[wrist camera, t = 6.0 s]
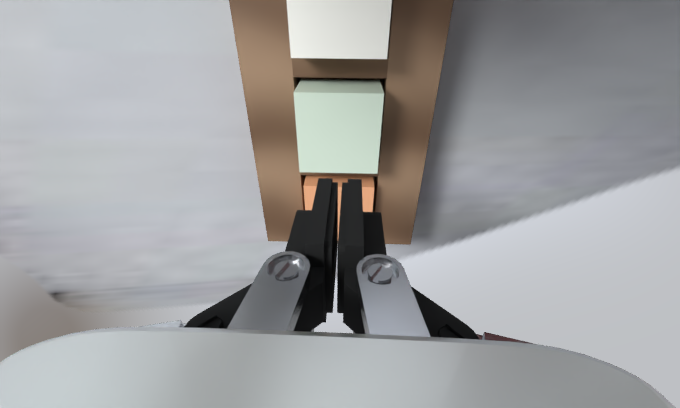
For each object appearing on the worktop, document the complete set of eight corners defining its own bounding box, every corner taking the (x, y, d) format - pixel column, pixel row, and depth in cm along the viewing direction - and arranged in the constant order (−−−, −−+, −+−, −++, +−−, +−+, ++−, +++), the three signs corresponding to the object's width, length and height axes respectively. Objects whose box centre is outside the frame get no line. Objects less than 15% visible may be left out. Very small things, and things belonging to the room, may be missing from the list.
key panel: (235, -79, 16) (214, -92, 14) (451, -79, 16) (469, -92, 13) (275, 217, 27) (268, 240, 24) (404, 220, 26) (410, 244, 24)
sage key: (301, 78, 18) (293, 92, 16) (379, 79, 18) (384, 93, 16) (305, 150, 21) (299, 172, 18) (374, 152, 21) (377, 173, 18)
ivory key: (292, -59, 15) (281, -69, 12) (389, -58, 15) (397, -68, 12) (299, 48, 17) (291, 58, 15) (381, 49, 17) (386, 59, 15)
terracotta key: (308, 164, 23) (303, 185, 20) (371, 165, 23) (374, 187, 20) (311, 215, 25) (307, 239, 23) (368, 216, 25) (370, 241, 23)
